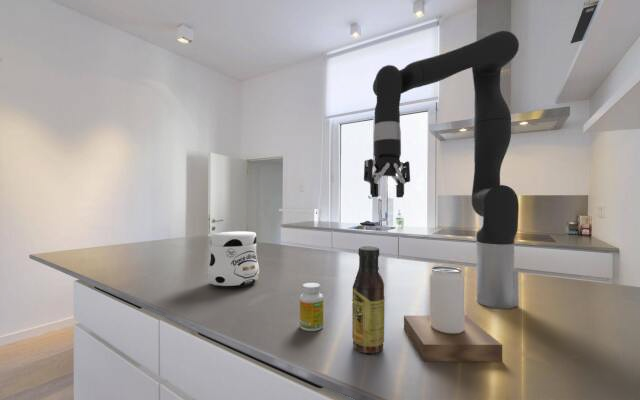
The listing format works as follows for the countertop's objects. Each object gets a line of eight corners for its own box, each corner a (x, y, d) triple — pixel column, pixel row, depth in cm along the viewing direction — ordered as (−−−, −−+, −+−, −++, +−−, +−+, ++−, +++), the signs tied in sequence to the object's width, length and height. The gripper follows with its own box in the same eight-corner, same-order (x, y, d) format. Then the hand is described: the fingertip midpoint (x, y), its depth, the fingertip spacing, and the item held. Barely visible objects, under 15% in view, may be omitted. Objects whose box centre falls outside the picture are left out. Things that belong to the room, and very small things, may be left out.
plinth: (466, 328, 68) (466, 315, 68) (502, 361, 54) (502, 344, 54) (403, 328, 69) (403, 315, 69) (424, 361, 55) (423, 344, 55)
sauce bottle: (349, 341, 63) (349, 245, 63) (379, 339, 63) (378, 244, 63) (356, 357, 56) (355, 250, 56) (389, 355, 57) (388, 249, 57)
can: (468, 336, 58) (467, 273, 58) (432, 333, 59) (432, 272, 59) (460, 323, 64) (459, 266, 64) (427, 320, 65) (427, 265, 66)
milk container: (252, 291, 98) (252, 236, 98) (199, 292, 98) (199, 236, 98) (263, 278, 115) (263, 231, 115) (218, 278, 115) (218, 231, 115)
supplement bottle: (315, 333, 66) (314, 289, 66) (295, 328, 69) (295, 285, 69) (327, 325, 71) (327, 283, 71) (308, 320, 74) (308, 280, 74)
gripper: (373, 135, 80) (374, 197, 79) (416, 139, 85) (416, 197, 85) (358, 140, 86) (359, 197, 86) (398, 144, 92) (399, 197, 92)
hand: (387, 197), depth 86 cm, fingers open, 8 cm apart
